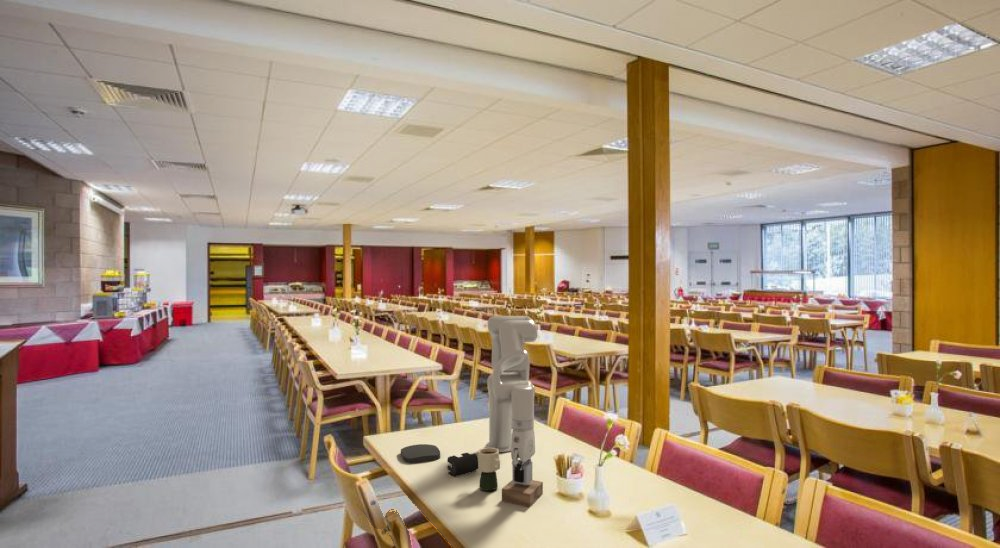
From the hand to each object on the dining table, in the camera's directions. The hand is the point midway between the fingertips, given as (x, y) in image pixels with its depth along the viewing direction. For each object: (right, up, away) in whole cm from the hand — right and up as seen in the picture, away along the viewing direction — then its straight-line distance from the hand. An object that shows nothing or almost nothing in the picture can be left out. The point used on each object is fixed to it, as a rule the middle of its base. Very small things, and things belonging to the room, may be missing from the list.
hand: (522, 478), depth 174 cm
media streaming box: (-40, -7, +40) cm, 56 cm away
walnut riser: (0, -6, 0) cm, 6 cm away
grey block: (0, -1, 0) cm, 1 cm away
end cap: (-21, -7, +21) cm, 30 cm away
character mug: (-11, -7, +7) cm, 15 cm away
